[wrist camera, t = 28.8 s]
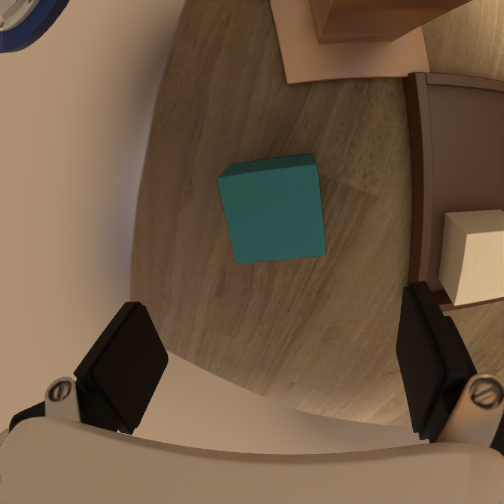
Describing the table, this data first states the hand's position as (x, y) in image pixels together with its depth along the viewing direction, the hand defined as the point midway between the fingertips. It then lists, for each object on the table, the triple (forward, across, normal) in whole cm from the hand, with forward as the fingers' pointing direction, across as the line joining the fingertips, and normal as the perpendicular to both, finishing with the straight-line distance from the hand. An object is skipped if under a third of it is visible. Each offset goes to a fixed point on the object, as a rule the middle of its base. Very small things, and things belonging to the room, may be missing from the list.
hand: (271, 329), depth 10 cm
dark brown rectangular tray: (+14, -15, +1) cm, 21 cm away
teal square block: (+14, +1, 0) cm, 14 cm away
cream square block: (+13, -15, +5) cm, 21 cm away
